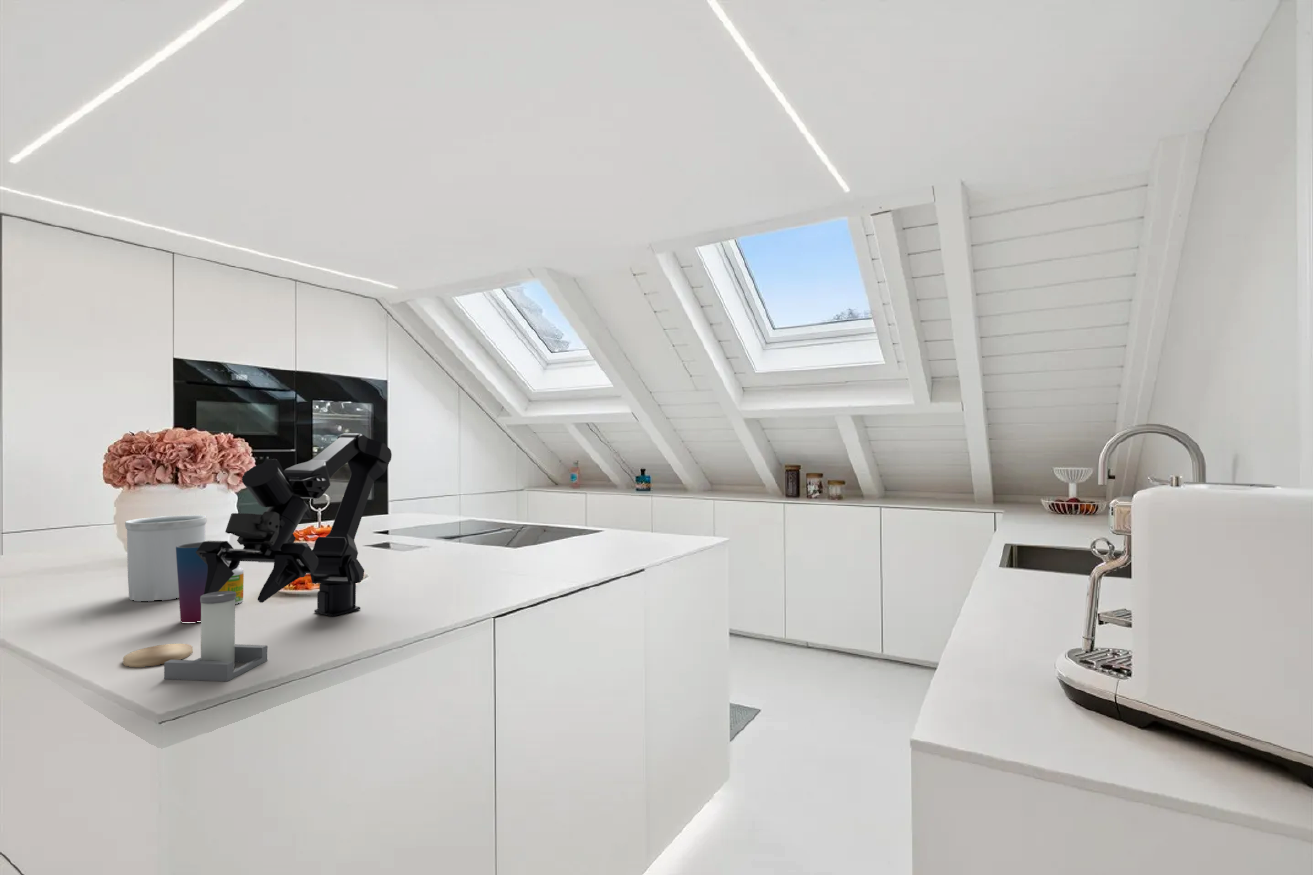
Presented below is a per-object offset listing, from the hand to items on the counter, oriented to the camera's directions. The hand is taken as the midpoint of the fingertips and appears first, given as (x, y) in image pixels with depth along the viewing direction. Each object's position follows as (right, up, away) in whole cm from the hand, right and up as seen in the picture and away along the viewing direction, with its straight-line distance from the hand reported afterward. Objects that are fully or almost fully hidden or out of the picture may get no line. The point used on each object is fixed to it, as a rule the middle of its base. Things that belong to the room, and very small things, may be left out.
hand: (232, 600), depth 102 cm
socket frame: (0, -10, -3) cm, 11 cm away
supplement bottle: (-25, -10, +36) cm, 45 cm away
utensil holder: (-44, -10, +42) cm, 62 cm away
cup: (-23, -10, +23) cm, 34 cm away
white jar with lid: (0, -10, -3) cm, 11 cm away
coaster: (-14, -10, +2) cm, 17 cm away
